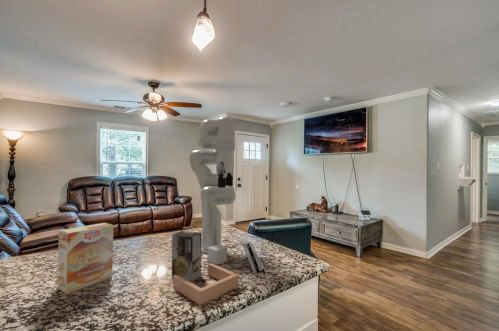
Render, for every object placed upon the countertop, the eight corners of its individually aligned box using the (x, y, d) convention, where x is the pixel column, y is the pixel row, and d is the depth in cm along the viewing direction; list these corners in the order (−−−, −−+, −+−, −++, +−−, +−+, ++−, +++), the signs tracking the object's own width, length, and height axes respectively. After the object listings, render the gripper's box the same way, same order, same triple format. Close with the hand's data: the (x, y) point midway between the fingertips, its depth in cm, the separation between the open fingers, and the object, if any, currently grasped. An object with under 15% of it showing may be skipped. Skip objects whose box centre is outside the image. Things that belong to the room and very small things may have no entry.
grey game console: (266, 272, 96) (258, 248, 96) (255, 277, 96) (246, 253, 95) (258, 257, 113) (250, 236, 112) (248, 261, 112) (241, 240, 112)
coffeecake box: (66, 294, 78) (67, 233, 78) (56, 288, 82) (57, 230, 82) (113, 277, 91) (114, 224, 91) (103, 272, 95) (104, 222, 95)
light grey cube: (216, 265, 103) (216, 250, 104) (207, 261, 107) (207, 247, 107) (226, 261, 108) (226, 247, 108) (217, 257, 112) (217, 244, 112)
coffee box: (201, 275, 93) (202, 232, 94) (192, 282, 87) (193, 236, 88) (181, 271, 96) (181, 230, 97) (170, 278, 90) (171, 234, 90)
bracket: (173, 288, 83) (173, 276, 83) (211, 273, 95) (211, 263, 95) (199, 305, 73) (200, 291, 73) (238, 286, 84) (238, 274, 84)
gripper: (224, 148, 115) (224, 185, 115) (210, 145, 98) (209, 188, 98) (240, 148, 113) (239, 185, 113) (227, 145, 97) (227, 188, 96)
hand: (225, 186), depth 106 cm, fingers open, 9 cm apart
